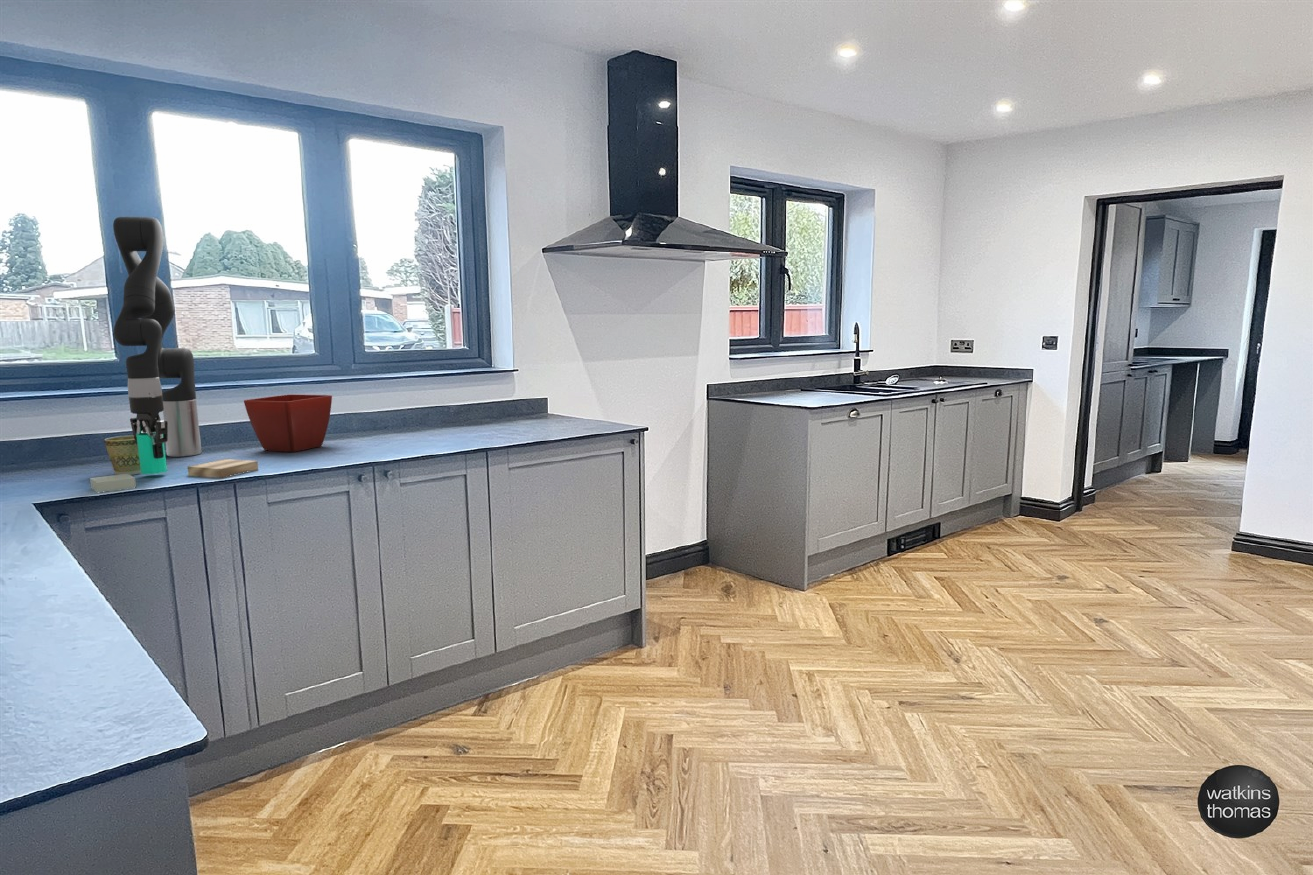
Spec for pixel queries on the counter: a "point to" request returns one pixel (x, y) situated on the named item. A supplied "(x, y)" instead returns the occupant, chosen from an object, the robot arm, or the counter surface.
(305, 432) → the plant pot
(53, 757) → the counter surface
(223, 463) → the oak block
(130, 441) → the ceramic cup
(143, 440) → the candle
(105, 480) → the sage block
